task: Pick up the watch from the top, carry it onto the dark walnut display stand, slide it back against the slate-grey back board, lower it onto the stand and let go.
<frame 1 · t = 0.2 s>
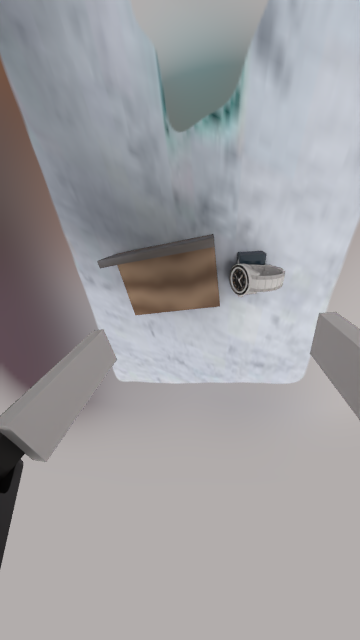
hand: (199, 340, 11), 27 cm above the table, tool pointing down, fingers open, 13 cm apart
watch: (247, 266, 34), on the table
display stand: (170, 278, 38), on the table
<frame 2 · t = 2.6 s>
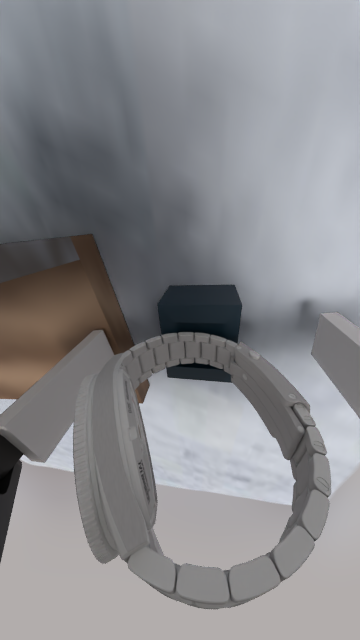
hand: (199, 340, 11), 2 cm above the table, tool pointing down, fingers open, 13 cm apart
watch: (200, 320, 13), on the table
display stand: (33, 334, 16), on the table
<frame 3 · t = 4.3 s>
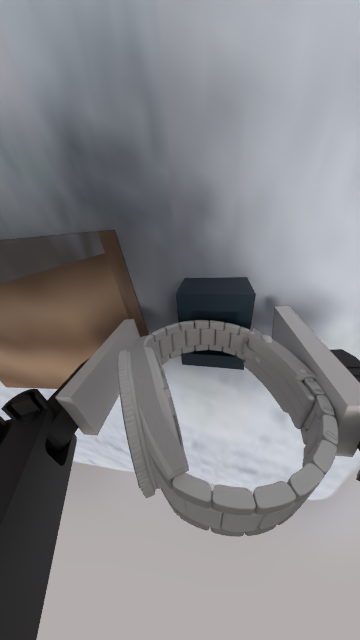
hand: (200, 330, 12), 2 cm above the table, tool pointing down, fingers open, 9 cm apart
watch: (212, 311, 14), on the table, touching gripper
display stand: (53, 326, 17), on the table
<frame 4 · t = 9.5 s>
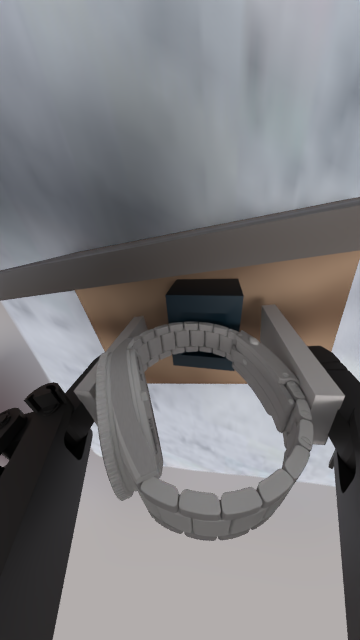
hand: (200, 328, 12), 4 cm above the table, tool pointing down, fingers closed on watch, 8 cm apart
watch: (204, 312, 14), point 2 cm above the table, touching display stand, gripper
display stand: (201, 314, 16), on the table
when the fingers open (3 cm above the table, at t = 10.4 s): watch stays where it is, resting on display stand.
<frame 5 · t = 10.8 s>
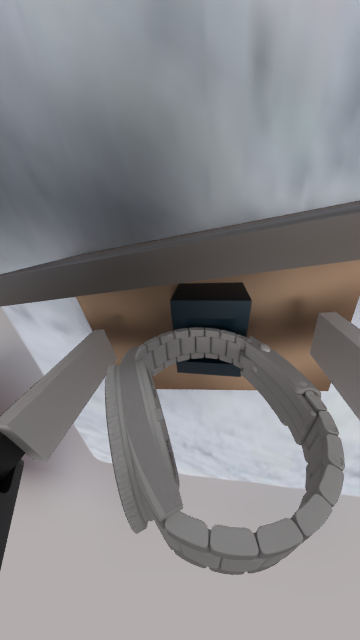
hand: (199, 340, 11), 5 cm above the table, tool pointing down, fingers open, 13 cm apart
watch: (207, 317, 13), point 2 cm above the table, touching display stand
display stand: (203, 318, 16), on the table
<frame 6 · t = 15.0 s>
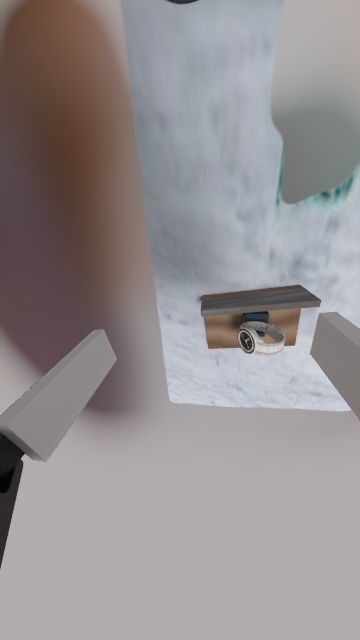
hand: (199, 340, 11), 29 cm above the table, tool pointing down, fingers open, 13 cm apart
watch: (252, 318, 39), point 2 cm above the table, touching display stand
display stand: (248, 318, 41), on the table
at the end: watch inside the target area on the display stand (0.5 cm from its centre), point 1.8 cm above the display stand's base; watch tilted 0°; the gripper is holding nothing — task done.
